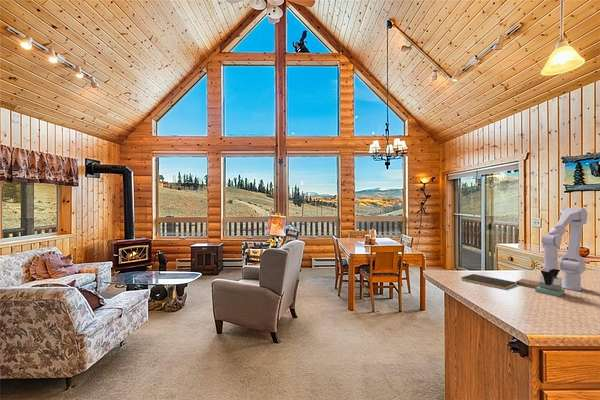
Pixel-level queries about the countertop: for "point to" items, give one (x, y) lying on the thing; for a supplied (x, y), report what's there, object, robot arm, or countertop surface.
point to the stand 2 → (550, 291)
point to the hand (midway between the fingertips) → (550, 283)
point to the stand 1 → (528, 283)
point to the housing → (554, 285)
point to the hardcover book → (489, 281)
